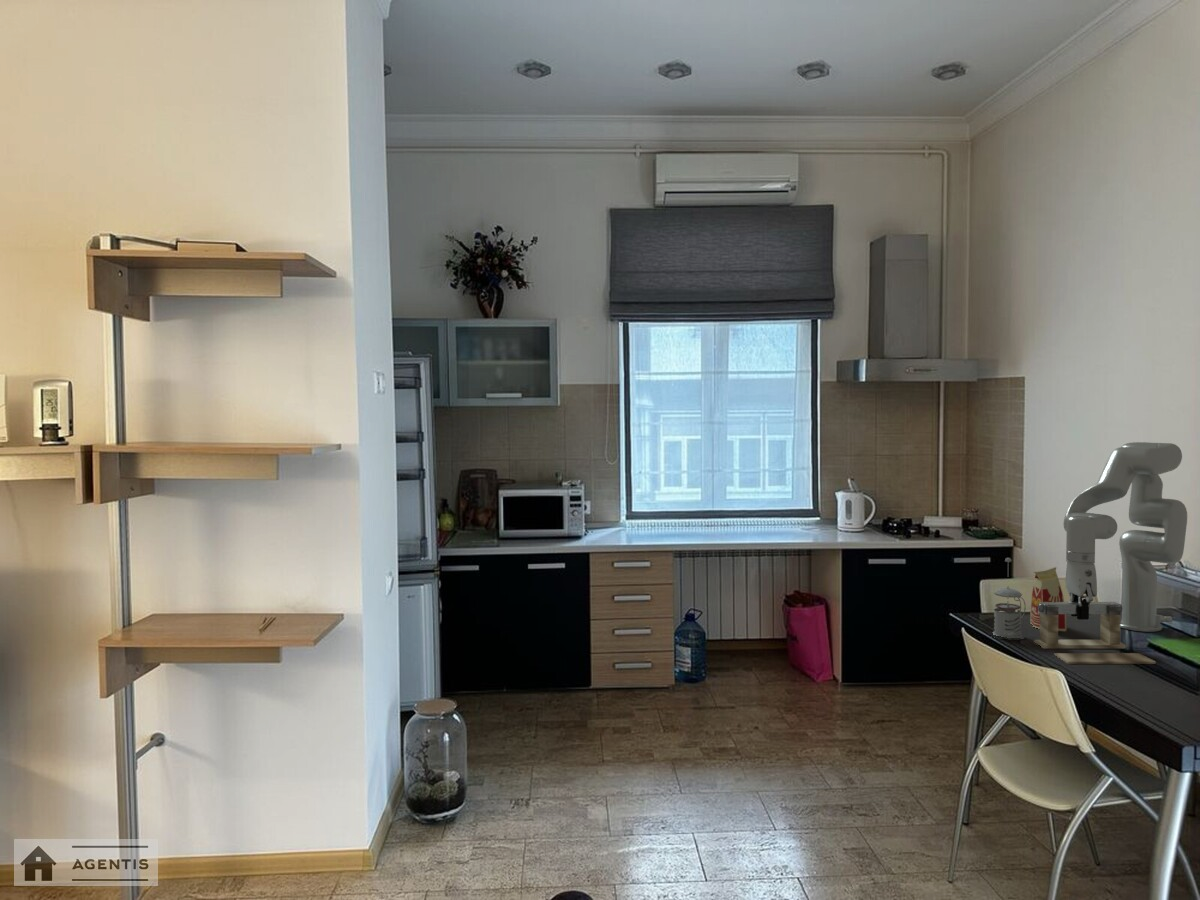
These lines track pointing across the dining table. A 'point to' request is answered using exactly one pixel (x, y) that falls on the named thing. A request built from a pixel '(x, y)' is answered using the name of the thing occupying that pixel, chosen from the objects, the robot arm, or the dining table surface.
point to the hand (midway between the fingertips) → (1079, 617)
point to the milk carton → (1046, 596)
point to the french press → (1008, 613)
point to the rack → (1107, 640)
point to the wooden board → (1104, 658)
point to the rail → (1072, 607)
